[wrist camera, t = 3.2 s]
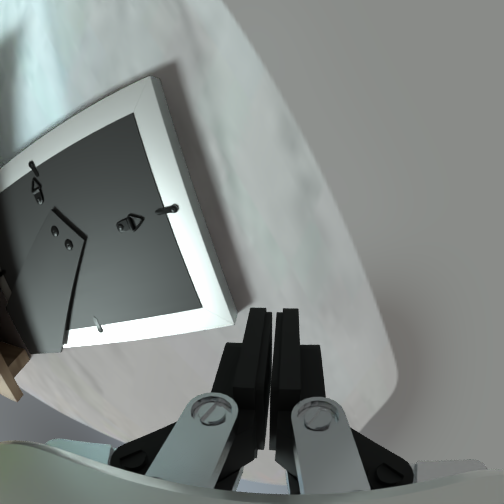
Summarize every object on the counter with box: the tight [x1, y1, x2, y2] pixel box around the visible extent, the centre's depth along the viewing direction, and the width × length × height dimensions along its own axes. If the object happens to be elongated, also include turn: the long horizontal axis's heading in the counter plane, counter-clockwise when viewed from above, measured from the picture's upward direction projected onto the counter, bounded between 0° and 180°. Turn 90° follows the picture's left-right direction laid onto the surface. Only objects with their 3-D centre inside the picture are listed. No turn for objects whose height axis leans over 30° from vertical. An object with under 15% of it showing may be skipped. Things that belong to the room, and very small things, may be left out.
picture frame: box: [0, 76, 238, 354], centre depth 19 cm, size 16×3×21 cm
